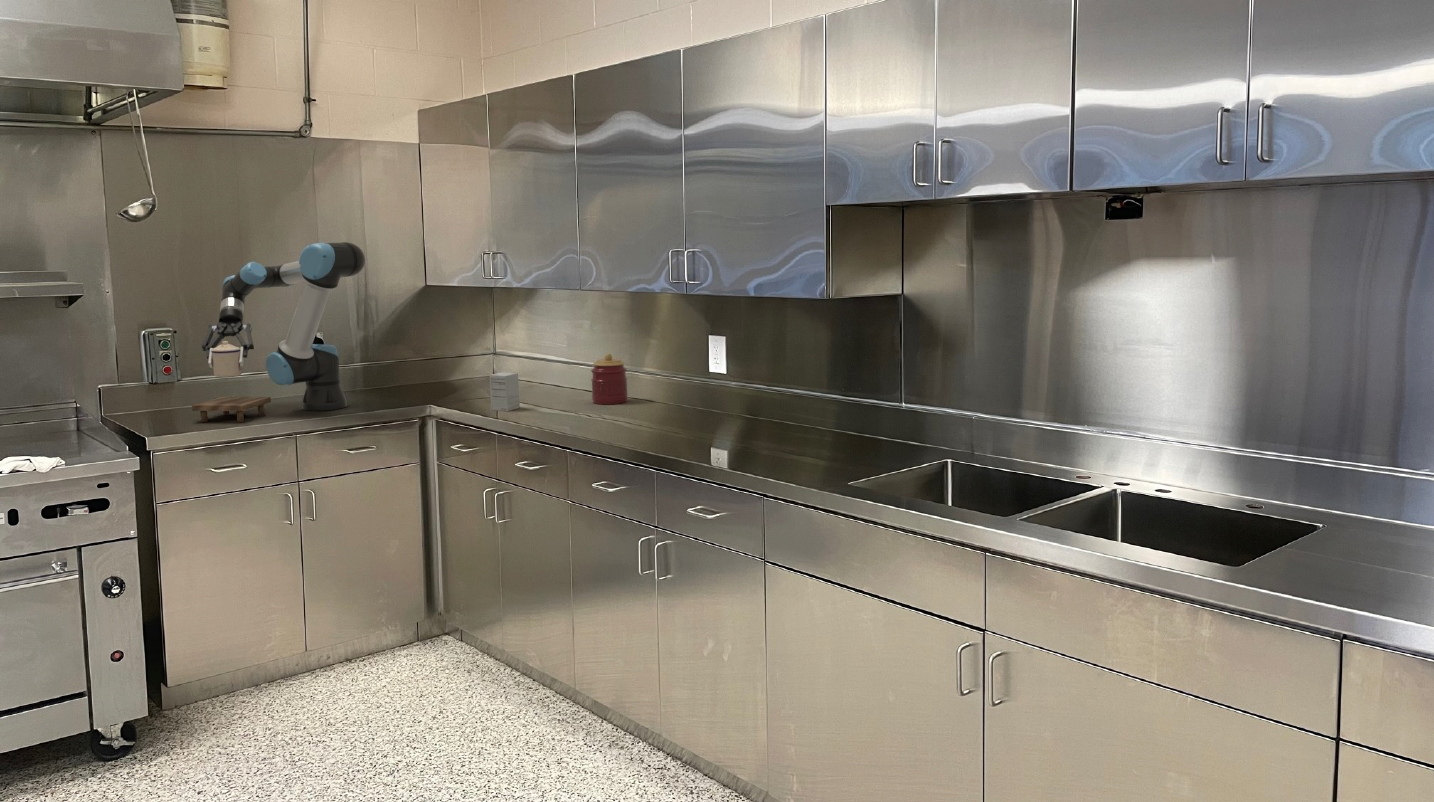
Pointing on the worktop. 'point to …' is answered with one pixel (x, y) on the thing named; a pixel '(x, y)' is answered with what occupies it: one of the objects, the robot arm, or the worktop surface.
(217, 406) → the brown wooden stand
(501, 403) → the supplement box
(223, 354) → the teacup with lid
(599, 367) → the canister
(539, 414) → the worktop surface
